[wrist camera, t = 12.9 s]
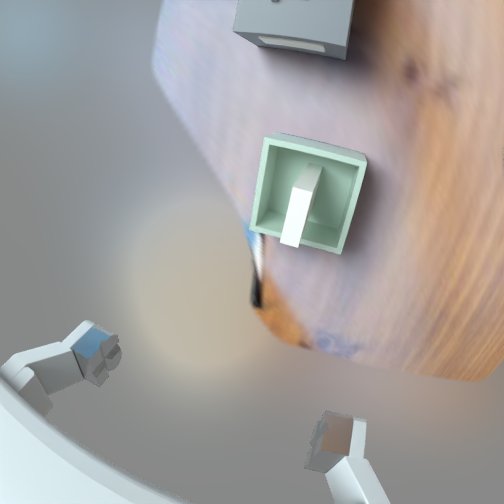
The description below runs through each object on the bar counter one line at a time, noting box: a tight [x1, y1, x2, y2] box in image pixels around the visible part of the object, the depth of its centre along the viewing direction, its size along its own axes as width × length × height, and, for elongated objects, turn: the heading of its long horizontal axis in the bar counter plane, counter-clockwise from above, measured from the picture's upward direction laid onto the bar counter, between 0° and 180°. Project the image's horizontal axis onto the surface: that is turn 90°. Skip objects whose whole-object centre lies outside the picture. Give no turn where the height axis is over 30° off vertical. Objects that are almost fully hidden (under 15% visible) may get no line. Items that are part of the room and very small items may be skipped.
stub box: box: [249, 132, 367, 255], centre depth 32 cm, size 10×10×6 cm
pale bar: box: [280, 163, 323, 248], centre depth 29 cm, size 2×5×11 cm, turn 170°
